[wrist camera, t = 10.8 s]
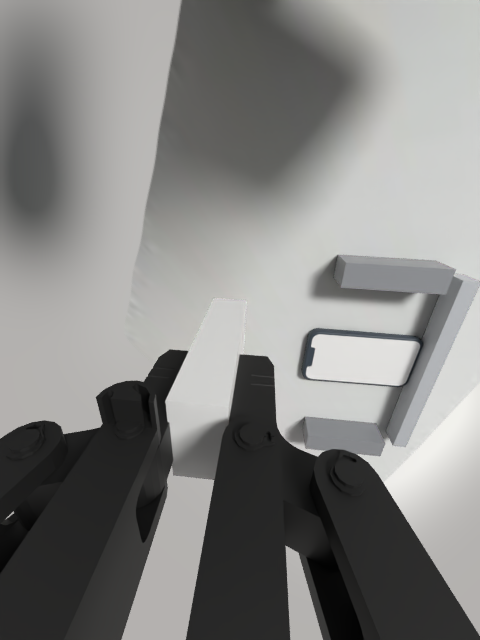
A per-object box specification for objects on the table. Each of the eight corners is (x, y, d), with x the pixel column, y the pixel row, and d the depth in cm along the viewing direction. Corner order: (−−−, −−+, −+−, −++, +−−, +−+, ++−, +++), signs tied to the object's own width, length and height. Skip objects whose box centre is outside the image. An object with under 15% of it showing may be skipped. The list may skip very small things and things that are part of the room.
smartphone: (420, 333, 39) (308, 325, 40) (426, 339, 38) (310, 330, 38) (401, 382, 43) (300, 374, 44) (406, 389, 42) (301, 380, 42)
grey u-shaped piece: (337, 254, 34) (346, 262, 31) (469, 262, 33) (493, 271, 30) (302, 429, 48) (305, 448, 45) (395, 438, 47) (405, 458, 44)
